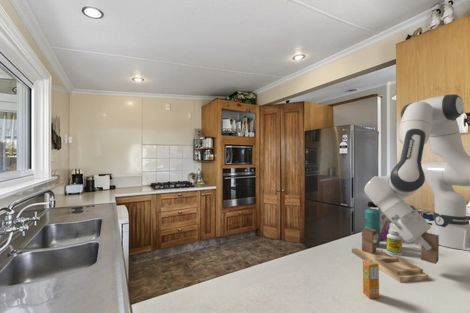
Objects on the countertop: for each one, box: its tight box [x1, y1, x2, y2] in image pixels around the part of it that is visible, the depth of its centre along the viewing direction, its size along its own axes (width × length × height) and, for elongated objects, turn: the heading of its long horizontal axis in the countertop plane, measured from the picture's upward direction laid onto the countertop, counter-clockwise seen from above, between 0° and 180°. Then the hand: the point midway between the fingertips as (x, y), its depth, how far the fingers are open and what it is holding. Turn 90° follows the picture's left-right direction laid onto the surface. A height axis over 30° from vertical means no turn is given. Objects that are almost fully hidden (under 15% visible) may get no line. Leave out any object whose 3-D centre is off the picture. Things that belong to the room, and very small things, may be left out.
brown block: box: [418, 232, 440, 265], centre depth 83 cm, size 4×5×9 cm
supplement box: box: [362, 259, 380, 299], centre depth 69 cm, size 3×4×10 cm
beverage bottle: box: [364, 201, 381, 245], centre depth 108 cm, size 6×7×20 cm
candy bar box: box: [369, 207, 391, 241], centre depth 118 cm, size 11×5×16 cm, turn 122°
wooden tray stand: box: [351, 227, 429, 283], centre depth 89 cm, size 11×24×10 cm, turn 10°
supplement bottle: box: [386, 228, 403, 256], centre depth 100 cm, size 5×5×10 cm
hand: (432, 247), depth 82 cm, fingers closed on brown block, 4 cm apart
